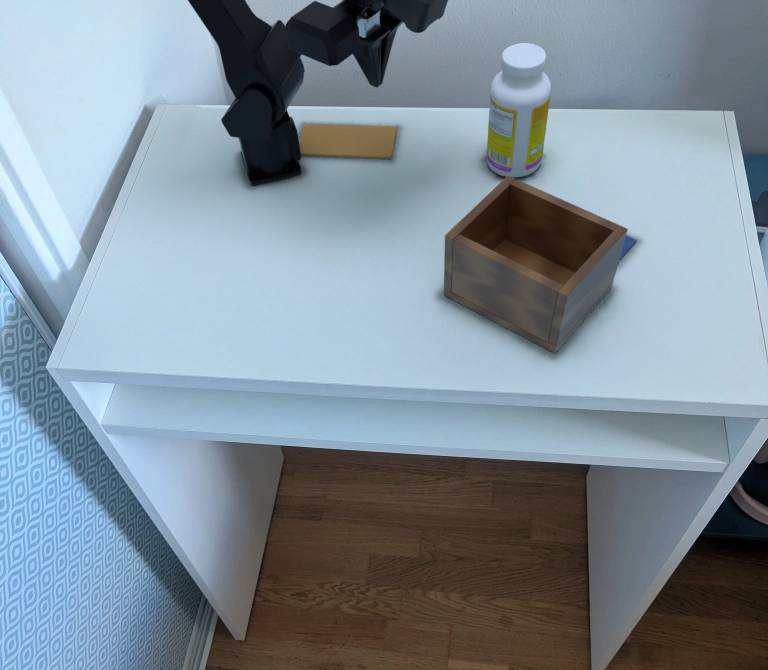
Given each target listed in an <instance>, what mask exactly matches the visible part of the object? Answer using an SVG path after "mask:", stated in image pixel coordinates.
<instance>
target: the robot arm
mask: <svg viewBox="0 0 768 670" xmlns="http://www.w3.org/2000/svg"><path fill="white" fill-rule="evenodd" d="M187 2H188V4H189V5H190V7H191V8H192V9H193V10H194V12H195V14H196V15H197V16H198V18H199V20H200V21H201V23H202V24H203V26H204V27H205V28H206V30H207V31H208V33H209V34H210V36H211V37H212V39H213V40H214V41H215V43H216V45H217V48H218V50H219V54H220V59H221V63H222V68H223V73H224V77H225V81H226V83H227V85H228V87H229V89H230V91H231V92H232V95H233V96H234V99H233V101H232V102H231V103H230V105H229V107H228V108H227V109H226V111H225V113H224V114H223V116H222V117H221V119H220V121H221V123H222V125H223V127H224V128H225V130H226V132H227V133H228V135H229V137H231V138H237V139H238V142H239V146H240V149H241V151H240V156H241V160H242V163H243V166H244V169H245V172H246V175H247V178H248V183H249V184H250V186H255V185H260V184H263V183H268V182H272V181H277V180H281V179H286V178H289V177H294V176H298V175H301V174H302V171H303V170H302V166H301V164H300V162H299V161H301V160H302V157H303V156H301V151H300V145H299V140H300V138H299V133H298V128H297V126H296V124H295V121H294V118H293V117H292V116H290V114H289V112H288V111H289V110H288V108H289V107H290V105H291V104H292V102H293V100H294V99H295V97H296V95H297V94H298V93H299V92H298V91H299V90H300V88H301V87H302V85H303V83H304V78H305V77H304V76H305V65H304V62H303V60H302V58H301V57H302V56H304V57H307V58H309V59H311V60H314V61H316V62H318V63H320V64H324V65H325V66H328V67H332V66H333V67H334V66H339V65H340V64H342V62H344V61H345V60H347V59H348V58H349V57H350V56H352V55H353V57H354V59H355V60H356V61H355V62H357V64H358V66H359V68H360V69H361V71H362V73H363V75H364V76H365V79H366V80H367V82H368V84H369V85H370V86H372V87H373V88H376V89H378V88H379V87H380V86H381V85H383V82H384V77H385V75H386V70H387V67H388V63H389V59H390V55H391V51H392V47H393V44H394V41H395V38H396V34H397V32H398V29H399V27H400V26H401V25H403V24H404V25H405V27H406V28H407V29H408V30H409V31H410V32H412V33H414V34H420V33H423V32H425V31H426V30H427V29H428V27H430V26H431V25H433V23H435V22H436V21H437V20H440V19H441V18H442V17H444V14H445V11H446V8H447V5H448V2H449V0H341V1H340V2H338V3H337V4H335V5H333V7H332V6H330V5H328V4H325V3H322V2H320V1H317V0H314V1H312V2H311V3H309V4H308V5H307V6H304V8H302V9H301V10H299V11H298V12H297V13H295V14H293V15H292V16H290V18H289V19H288V20H287V22H286V23H285V24H284V22H283V21H282V20H281V19H278V20H276V21H275V23H273V24H272V25H271V24H269V23H268V22H266V21H265V20H263V19H261V18H260V17H258V16H256V14H255V13H254V12H253V10H252V9H251V8H250V5H249V4H248V2H247V1H246V0H187Z"/></svg>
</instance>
